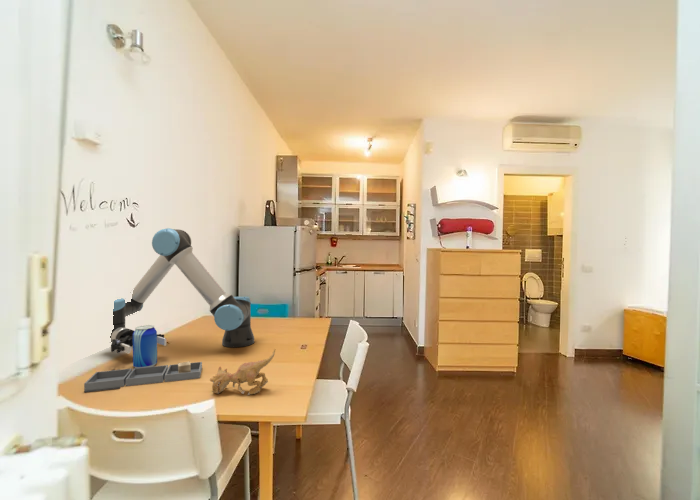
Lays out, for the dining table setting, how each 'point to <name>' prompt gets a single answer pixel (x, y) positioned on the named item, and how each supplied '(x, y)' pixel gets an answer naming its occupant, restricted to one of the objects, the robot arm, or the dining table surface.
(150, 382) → the tray middle
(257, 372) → the toy
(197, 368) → the tray
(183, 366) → the beige cube
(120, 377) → the tray
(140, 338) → the beer can
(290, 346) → the dining table surface
